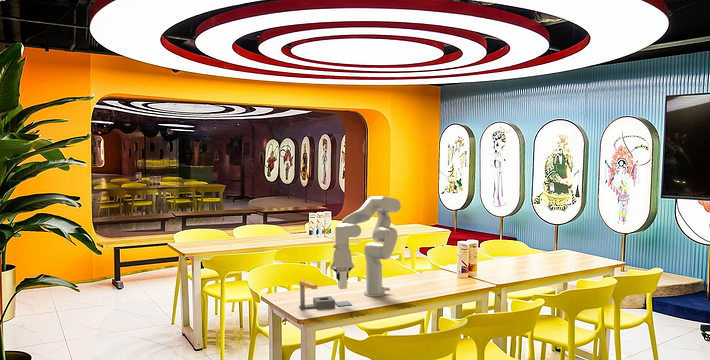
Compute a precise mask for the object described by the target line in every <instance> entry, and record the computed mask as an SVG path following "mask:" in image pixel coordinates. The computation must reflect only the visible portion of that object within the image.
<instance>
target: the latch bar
mask: <svg viewBox="0 0 710 360" xmlns="http://www.w3.org/2000/svg"><path fill="white" fill-rule="evenodd" d="M300 285H302V286H305V288H308V289H311V290H318V284H315V283H312V282H309V281H306V280H304V279H302V280H299V286H300Z"/></svg>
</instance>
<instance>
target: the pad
mask: <svg viewBox="0 0 710 360" xmlns="http://www.w3.org/2000/svg"><path fill="white" fill-rule="evenodd" d="M335 306H337V307H338V308H339V307H350V306H353V304H352V303H351V302H350V301H349V300H345V301H344V300H343V301H335Z"/></svg>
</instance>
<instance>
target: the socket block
mask: <svg viewBox="0 0 710 360" xmlns="http://www.w3.org/2000/svg"><path fill="white" fill-rule="evenodd" d="M305 289H306V287H305V286H302V285H300V284H299V290H300V291H299V292H300V293H299V296H300V298H299V300H300V302H299V305H298V308H299V310H310V309H311V310H312V309H316V310H322V309H323V310H325V309H333V308H334V309H335V308H336V304H335V302H336V300H335V299H334V297H332V296H331V295H328V296H317V297H313V299H312V304H310V303H309V304H305V303H306V293H305Z"/></svg>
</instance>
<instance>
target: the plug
mask: <svg viewBox="0 0 710 360" xmlns="http://www.w3.org/2000/svg"><path fill="white" fill-rule="evenodd" d="M339 274H340V280H339V281H338V280H337V288H338V289H339V290H344V289H345V290H346V289H348V280H347V269H346V268H340V269H339Z"/></svg>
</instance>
